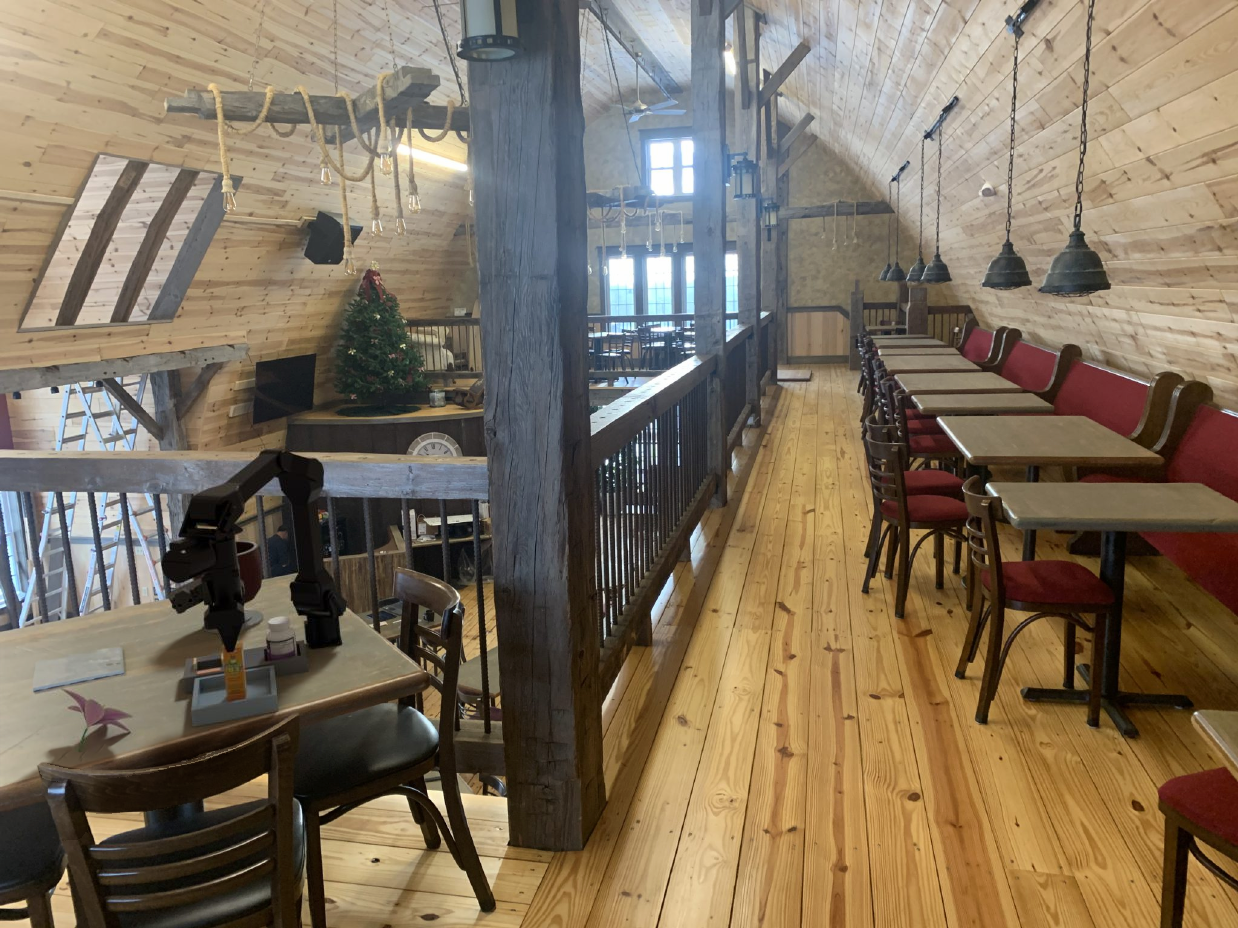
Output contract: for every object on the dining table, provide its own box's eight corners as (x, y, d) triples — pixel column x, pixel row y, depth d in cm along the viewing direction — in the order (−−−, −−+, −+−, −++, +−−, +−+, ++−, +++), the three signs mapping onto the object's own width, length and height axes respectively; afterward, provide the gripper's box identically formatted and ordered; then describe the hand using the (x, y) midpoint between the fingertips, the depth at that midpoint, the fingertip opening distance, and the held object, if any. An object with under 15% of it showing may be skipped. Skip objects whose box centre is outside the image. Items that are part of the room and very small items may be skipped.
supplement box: (226, 702, 157) (220, 648, 156) (228, 694, 160) (222, 642, 159) (246, 699, 158) (241, 646, 157) (247, 691, 162) (242, 639, 160)
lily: (138, 754, 145) (150, 693, 148) (56, 751, 137) (71, 687, 140) (115, 751, 153) (127, 694, 156) (37, 749, 145) (51, 688, 148)
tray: (275, 679, 168) (274, 664, 168) (278, 710, 156) (276, 694, 156) (196, 693, 163) (194, 678, 163) (193, 726, 151) (191, 710, 150)
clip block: (305, 653, 180) (303, 634, 179) (308, 671, 172) (306, 651, 171) (187, 673, 172) (185, 653, 171) (185, 693, 164) (182, 672, 163)
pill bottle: (273, 661, 177) (268, 615, 175) (301, 660, 177) (296, 614, 175) (265, 673, 171) (260, 625, 169) (294, 671, 172) (289, 624, 170)
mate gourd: (279, 620, 198) (270, 534, 194) (218, 639, 188) (207, 549, 184) (245, 605, 208) (236, 522, 204) (185, 622, 198) (174, 536, 194)
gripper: (172, 555, 160) (183, 636, 163) (164, 587, 143) (177, 677, 146) (239, 547, 164) (248, 626, 167) (239, 577, 147) (249, 665, 150)
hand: (230, 647), depth 158 cm, fingers closed on supplement box, 4 cm apart
